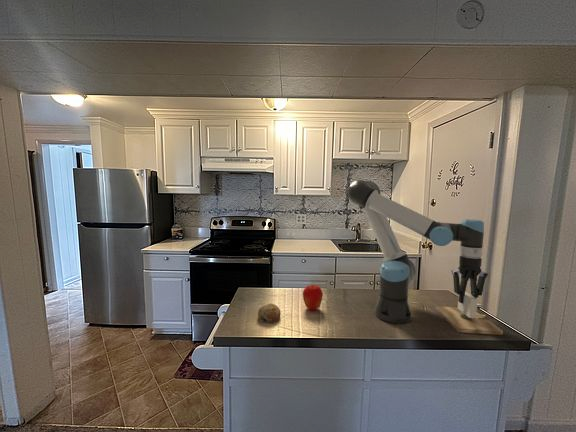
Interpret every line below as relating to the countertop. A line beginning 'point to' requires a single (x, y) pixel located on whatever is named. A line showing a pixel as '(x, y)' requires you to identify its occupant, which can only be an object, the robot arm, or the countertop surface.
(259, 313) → the bread roll
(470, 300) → the cream piece
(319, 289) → the apple
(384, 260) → the robot arm
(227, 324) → the countertop surface
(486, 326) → the light wood flat board
